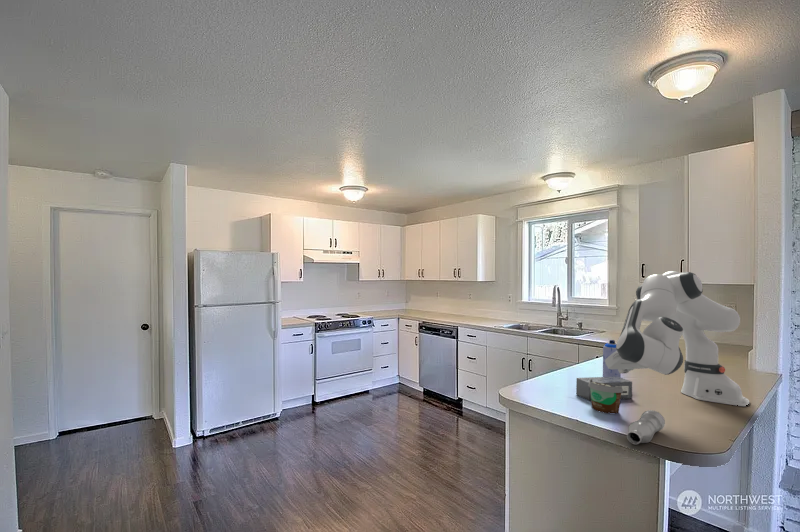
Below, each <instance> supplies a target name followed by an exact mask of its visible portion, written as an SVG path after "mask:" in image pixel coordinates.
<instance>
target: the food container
mask: <svg viewBox="0 0 800 532" xmlns="http://www.w3.org/2000/svg"><path fill="white" fill-rule="evenodd" d="M588 386H589V387H590V391H591V401H590V402H591V408H592V409H593V410H594V411H597V412H599V411H600V413H603V412H604V414H610V413H615V414H619V413H620V405H621V399H620V398H621V393H622V392H623V389H622V386H620V387H613V386H611V385H608V384H604V383H597V382H593V381H592V379H590V381H589V384H588Z"/></svg>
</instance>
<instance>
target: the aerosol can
mask: <svg viewBox="0 0 800 532" xmlns="http://www.w3.org/2000/svg"><path fill="white" fill-rule="evenodd" d="M616 344H617V342H616V341H615V340H614V339H610V340H609V342H606V343H605V344H604V345H603V347H602V377H617V376H618V377H620V378H622V377H621V375H622V373H621V374H620V373H619V371H618V369H609V368H608V367H607V365H606V363H605V359H606V358H608V357H609V356H610V355H611V354H612V353H614V352H615V351H617V350H616Z"/></svg>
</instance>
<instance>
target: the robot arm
mask: <svg viewBox="0 0 800 532" xmlns="http://www.w3.org/2000/svg"><path fill="white" fill-rule="evenodd" d="M703 290H704V289H703V283H702V280H701V279H700V278H699V277H698V276H697V275H696V273H693V272H691V271H683V272H679V271H675V270H669V271H666V272H664V273H662V274H660V273H659V274H656V273H655V274H651V275H649V276H647V277H646V278H645V279H644V280H643V282H642V284H641V285H639V286H638V287H637V289H636V290H635V294H636V295H635V296H636V300H635V301H633V303H631V305H630V306H629V309H628V310H627V314H626V317H625V321H624V324H623V326H622V329H621V333H620V334H619V337H618V340H617V341H616V350H617V351H615V352H614V353H612V354H611V355H610V356H609V357H608V358H606V359H605V363H606V365H607V367H608V368H609V369H618V371H619V373H620V374H621V375H622V374H629V372H631V371H633V370H636V369H637V370H639V369H641V370H642V369H643V370H644V369H649V370H652V371H655V372H657V373H659V374H662V375H664V376H665V375H671V374H673V373H675V372H677V371H678V370H679V369H680V368H681V366H682V365H683V364H684V365H683V371H684V379H683V385H682V387H681V390H680V392H681V393H682V394H684V395H686V396H688V397H692V398H694V399H696V400H699V401H704V402H712V403H718V404H725V405H731V406H732V405H733V406H737V405H738V406H737V407H747V406H746V405H748V404H749V405H750V400H749V398H747V397H745V396H744V395H743V392H742V388H741V386H740V385H739V384H738V383H737V382H736V381H734V380H733V379H731V378H730V377H729V376H728V375H726V374H725V372H726V368H725V366H724V365H722V364H720V363H719V346H718V345H717V343H716V342H714V341H713V340H712V339H710V338H708V336H707V335H706V334H705V331H707V332H715V333H716V332H717V333H726V332H727V333H729V332H735V330H737V329H738V328H739V326H740V325H741V316H740V314H739V312H737V310H736V309H734V308H732V307H728V306H726V305H723V304H721V303H718V302H717V301H714V300H712V299H711V298H709V297H707V296H706V295H705V294H703ZM642 321H646V322H650V324H649V325H648V326H646V327H645V328H644V329H643V331H641V330H640V329H641V325H642ZM681 337H683V340H684V344H685V360H684V355H683V353H682V350H681V348H680V339H681ZM749 405H748V406H749Z"/></svg>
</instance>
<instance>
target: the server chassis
mask: <svg viewBox="0 0 800 532" xmlns="http://www.w3.org/2000/svg"><path fill="white" fill-rule="evenodd" d="M590 379H592V381H593V382H597V383H604V384H608V385H611V386H613V387H620V386H622V389H623V392H622V393H621V398H620V400H631V399H630V398H632V399H633V381H632V380H629V379H626V378H623V377H621V378H620V377H618V376H617V377H603V376H597V377H596V376H595V377H594V376H593V377H591V376H589V377H576V381H575V382H576V386H575V387H576V388H575V389H576V391H575V392H576V394H577V395H576V394H575V395H576V396H578V395H579V396H578V397H580V396H581V398H582V397H583V399H584V398H585V399H584V400H586V399H587V400H586V401H588V400H589V402H591V391H590V387H589V386H588V384H589V381H590Z"/></svg>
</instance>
